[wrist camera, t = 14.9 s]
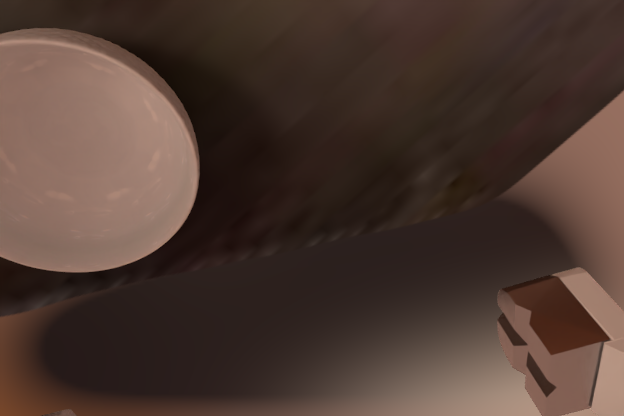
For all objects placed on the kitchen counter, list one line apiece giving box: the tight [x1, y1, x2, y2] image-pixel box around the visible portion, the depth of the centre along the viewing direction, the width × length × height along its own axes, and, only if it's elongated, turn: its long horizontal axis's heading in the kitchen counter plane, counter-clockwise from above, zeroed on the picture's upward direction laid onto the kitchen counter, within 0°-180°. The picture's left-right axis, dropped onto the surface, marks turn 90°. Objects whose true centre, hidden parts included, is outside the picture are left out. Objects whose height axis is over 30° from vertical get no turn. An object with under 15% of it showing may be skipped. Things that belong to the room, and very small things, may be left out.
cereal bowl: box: [0, 28, 200, 272], centre depth 35 cm, size 17×17×7 cm
